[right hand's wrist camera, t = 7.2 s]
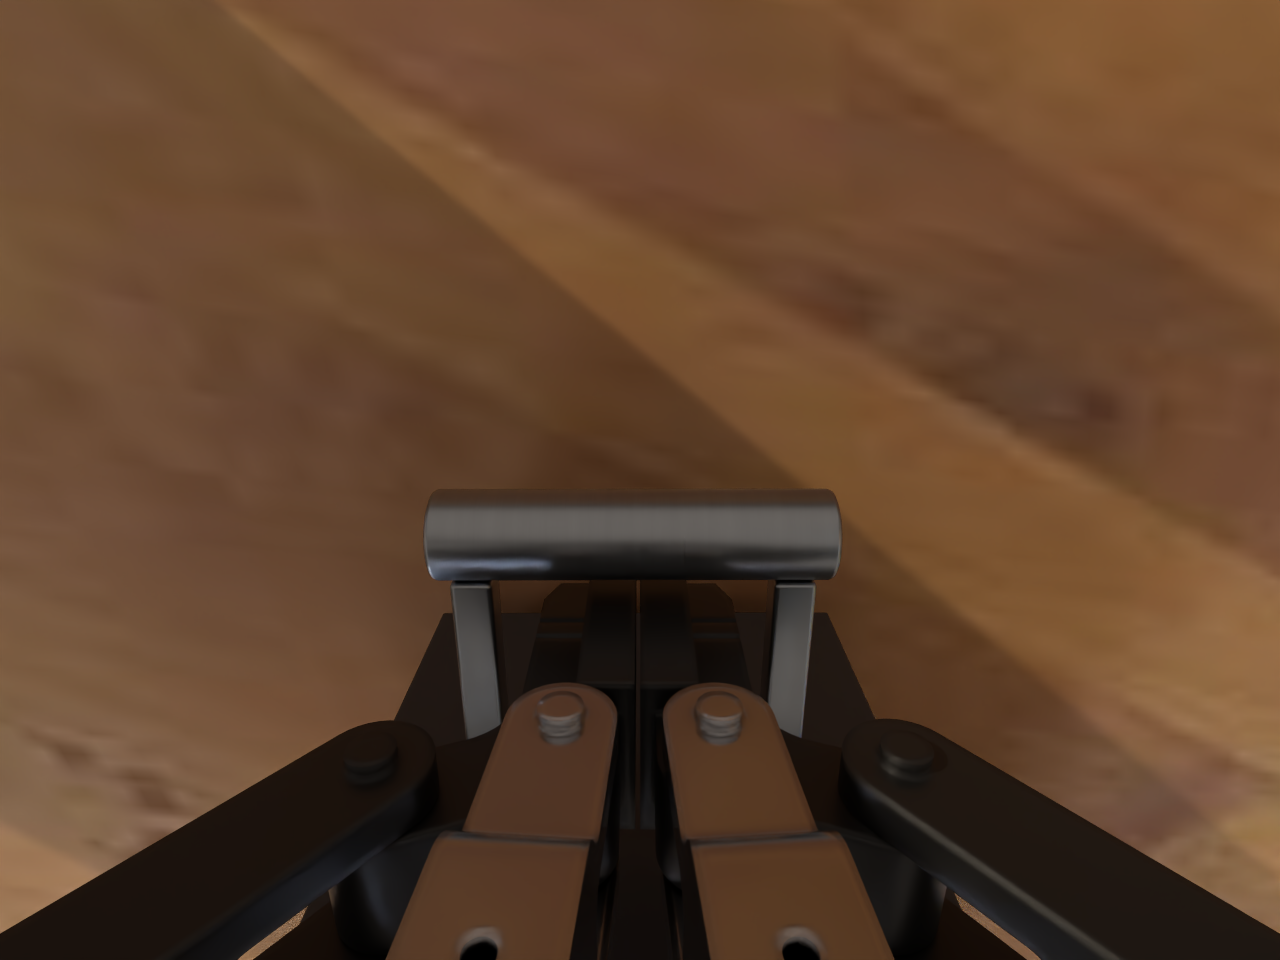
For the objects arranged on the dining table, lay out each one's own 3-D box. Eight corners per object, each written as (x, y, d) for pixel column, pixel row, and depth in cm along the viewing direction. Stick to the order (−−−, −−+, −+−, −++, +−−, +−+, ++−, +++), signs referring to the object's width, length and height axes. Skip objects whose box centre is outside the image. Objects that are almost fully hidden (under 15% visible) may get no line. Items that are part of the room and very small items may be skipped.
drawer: (416, 380, 16) (163, 593, 8) (851, 379, 16) (1097, 591, 8) (492, 1050, 25) (411, 1524, 16) (781, 1050, 25) (860, 1521, 16)
